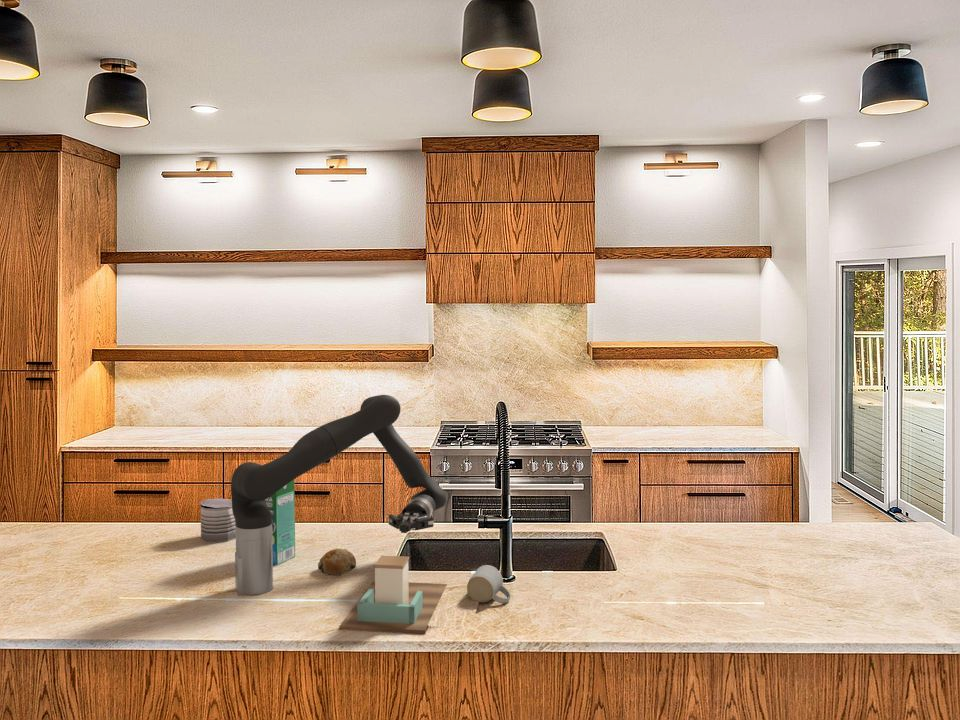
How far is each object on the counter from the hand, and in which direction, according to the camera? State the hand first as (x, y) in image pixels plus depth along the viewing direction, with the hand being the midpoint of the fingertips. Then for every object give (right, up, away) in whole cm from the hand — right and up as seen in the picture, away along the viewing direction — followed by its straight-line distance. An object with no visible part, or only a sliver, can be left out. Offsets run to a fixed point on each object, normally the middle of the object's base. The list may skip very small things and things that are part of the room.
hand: (403, 529), depth 197 cm
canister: (-1, -17, -14) cm, 22 cm away
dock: (-2, -18, -14) cm, 23 cm away
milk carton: (-41, -15, +28) cm, 52 cm away
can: (-65, -14, +50) cm, 83 cm away
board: (-1, -17, -8) cm, 19 cm away
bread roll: (-21, -16, +19) cm, 32 cm away
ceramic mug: (+22, -17, -3) cm, 28 cm away
